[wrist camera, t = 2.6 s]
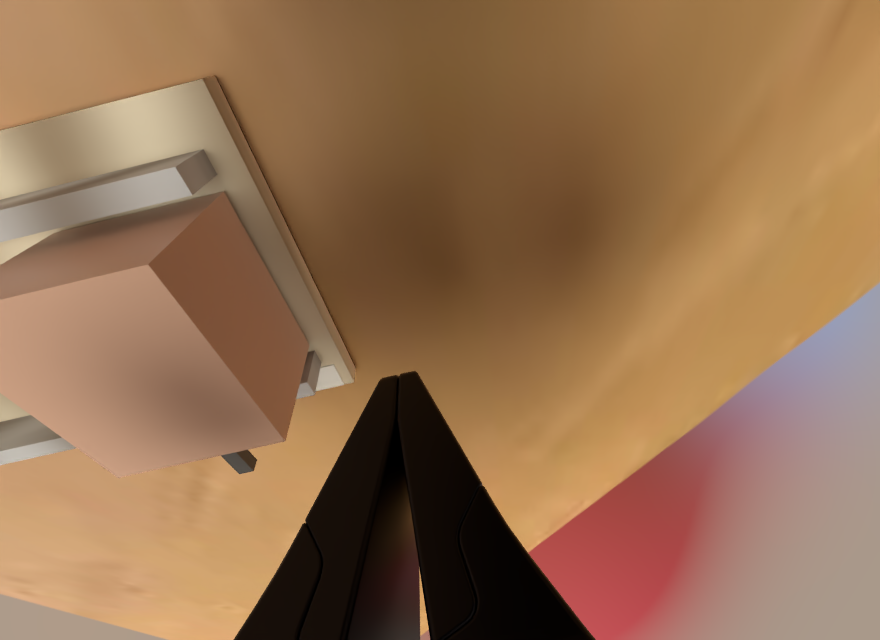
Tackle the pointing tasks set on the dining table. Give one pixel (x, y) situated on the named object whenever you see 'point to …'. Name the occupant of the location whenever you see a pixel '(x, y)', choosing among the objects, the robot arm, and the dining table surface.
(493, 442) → the dining table surface
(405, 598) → the robot arm
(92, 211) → the base
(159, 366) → the block
